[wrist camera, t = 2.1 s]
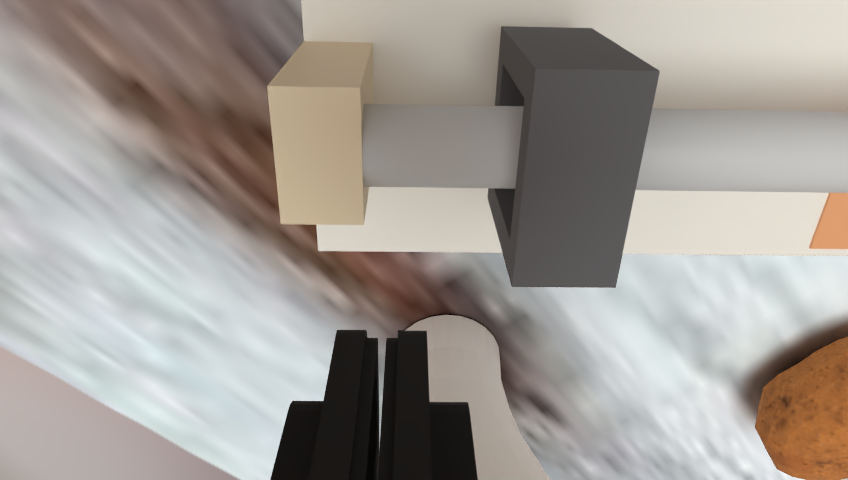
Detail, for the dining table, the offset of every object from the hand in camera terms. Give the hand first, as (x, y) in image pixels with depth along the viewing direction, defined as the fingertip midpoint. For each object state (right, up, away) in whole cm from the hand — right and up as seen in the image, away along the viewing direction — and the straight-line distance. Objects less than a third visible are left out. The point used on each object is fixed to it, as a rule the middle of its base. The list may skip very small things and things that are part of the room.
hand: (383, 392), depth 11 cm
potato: (+26, -4, +26) cm, 37 cm away
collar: (+6, +8, +14) cm, 17 cm away
